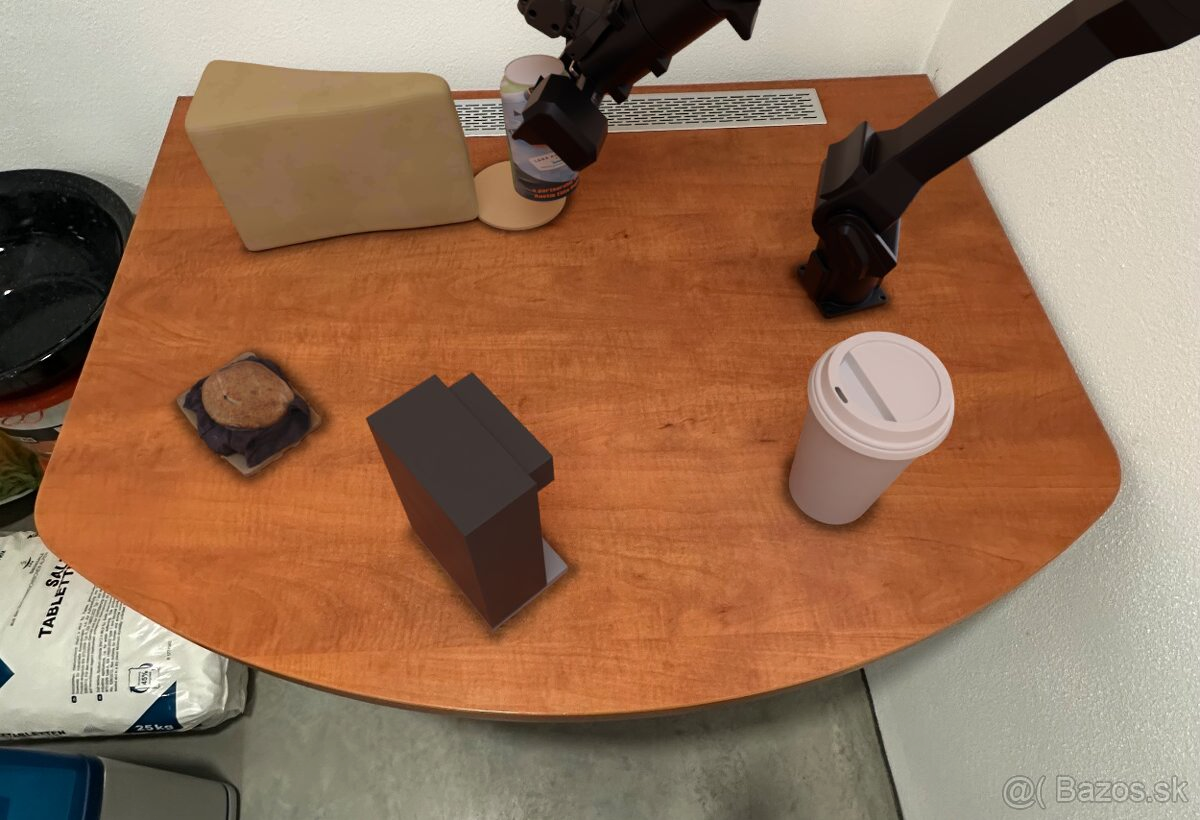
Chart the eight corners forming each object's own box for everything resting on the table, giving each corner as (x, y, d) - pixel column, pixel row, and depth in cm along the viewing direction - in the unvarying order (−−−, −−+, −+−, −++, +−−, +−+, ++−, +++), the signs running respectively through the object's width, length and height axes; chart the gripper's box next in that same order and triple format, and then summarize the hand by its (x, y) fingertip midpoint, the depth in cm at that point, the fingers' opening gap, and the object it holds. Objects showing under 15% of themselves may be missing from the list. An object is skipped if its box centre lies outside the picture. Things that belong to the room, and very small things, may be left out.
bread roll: (172, 407, 67) (151, 381, 64) (259, 349, 70) (243, 323, 67) (241, 485, 63) (223, 462, 60) (330, 421, 66) (317, 396, 63)
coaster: (550, 155, 85) (550, 152, 85) (578, 218, 80) (578, 215, 80) (458, 173, 83) (457, 170, 83) (480, 239, 78) (480, 236, 78)
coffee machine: (488, 481, 64) (461, 356, 50) (568, 571, 60) (564, 463, 46) (414, 533, 61) (365, 417, 47) (493, 631, 57) (464, 536, 43)
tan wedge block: (482, 181, 82) (460, 46, 69) (476, 251, 77) (452, 118, 64) (265, 186, 82) (204, 50, 69) (245, 255, 76) (174, 123, 64)
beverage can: (528, 221, 72) (516, 109, 62) (499, 170, 76) (483, 55, 65) (592, 201, 73) (590, 87, 63) (561, 151, 77) (554, 36, 67)
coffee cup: (764, 434, 66) (807, 318, 54) (879, 438, 66) (949, 324, 54) (774, 540, 61) (824, 440, 49) (899, 545, 61) (981, 446, 49)
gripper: (618, -139, 59) (493, -14, 70) (542, -5, 50) (410, 116, 60) (709, -17, 65) (580, 81, 76) (658, 124, 55) (518, 214, 66)
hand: (526, 118), depth 69 cm, fingers closed on beverage can, 5 cm apart
